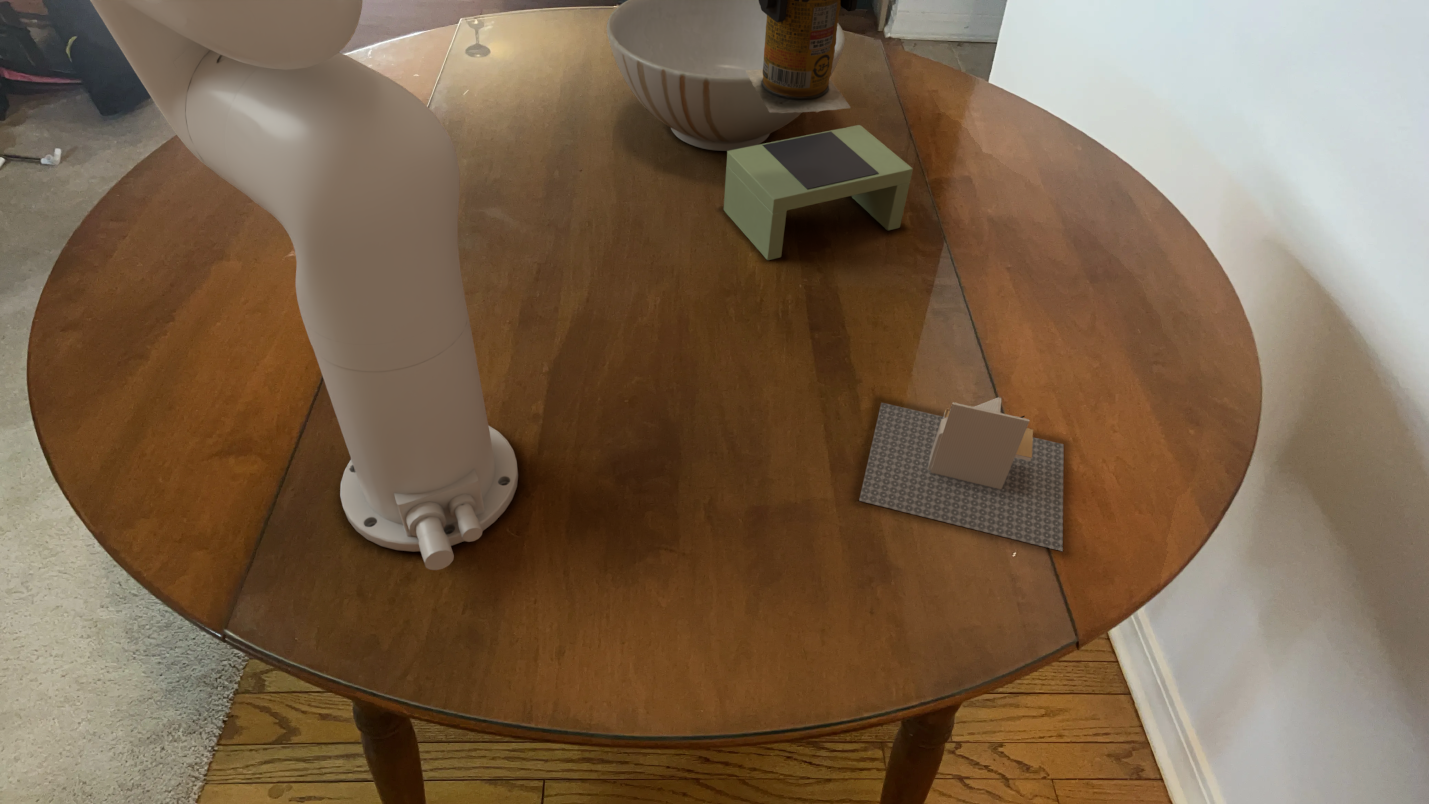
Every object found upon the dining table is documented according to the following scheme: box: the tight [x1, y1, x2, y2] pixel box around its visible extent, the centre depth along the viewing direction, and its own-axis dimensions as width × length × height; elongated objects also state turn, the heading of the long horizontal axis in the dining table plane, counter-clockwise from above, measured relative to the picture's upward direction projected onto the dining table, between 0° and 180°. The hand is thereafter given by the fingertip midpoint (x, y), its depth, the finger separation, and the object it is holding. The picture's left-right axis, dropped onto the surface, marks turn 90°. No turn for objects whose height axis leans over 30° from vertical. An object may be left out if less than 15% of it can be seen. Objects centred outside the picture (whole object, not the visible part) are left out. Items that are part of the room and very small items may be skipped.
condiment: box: [745, 0, 852, 113], centre depth 76 cm, size 7×8×12 cm
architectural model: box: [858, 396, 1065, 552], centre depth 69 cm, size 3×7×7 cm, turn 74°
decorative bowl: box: [606, 0, 846, 152], centre depth 106 cm, size 27×27×12 cm
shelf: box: [723, 124, 914, 261], centre depth 93 cm, size 10×16×7 cm, turn 116°
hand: (808, 8), depth 75 cm, fingers closed on condiment, 6 cm apart
